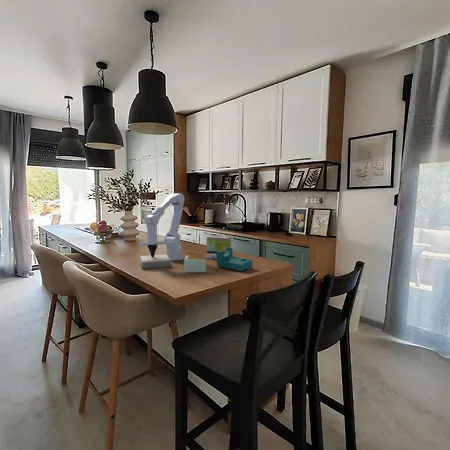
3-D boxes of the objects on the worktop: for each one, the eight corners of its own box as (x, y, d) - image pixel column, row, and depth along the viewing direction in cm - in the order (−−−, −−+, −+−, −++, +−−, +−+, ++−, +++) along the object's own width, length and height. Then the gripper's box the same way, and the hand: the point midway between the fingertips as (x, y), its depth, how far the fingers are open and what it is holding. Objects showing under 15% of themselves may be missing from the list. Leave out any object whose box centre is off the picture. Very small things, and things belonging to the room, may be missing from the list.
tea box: (206, 258, 191) (206, 236, 189) (210, 255, 201) (210, 235, 199) (227, 259, 187) (228, 237, 186) (231, 256, 197) (231, 235, 196)
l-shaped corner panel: (205, 273, 156) (205, 259, 156) (184, 273, 156) (183, 259, 155) (206, 267, 168) (206, 255, 168) (186, 267, 168) (186, 255, 167)
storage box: (166, 262, 180) (166, 255, 180) (170, 267, 167) (170, 260, 167) (140, 264, 174) (140, 257, 174) (142, 269, 161) (142, 262, 161)
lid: (166, 255, 180) (166, 254, 180) (170, 260, 167) (170, 259, 167) (140, 257, 174) (140, 256, 174) (142, 262, 161) (142, 261, 161)
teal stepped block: (217, 268, 167) (216, 251, 166) (228, 263, 176) (227, 247, 174) (241, 273, 156) (240, 255, 154) (252, 268, 164) (251, 250, 162)
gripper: (162, 233, 178) (162, 254, 179) (138, 234, 171) (139, 256, 172) (165, 234, 172) (165, 256, 173) (141, 236, 165) (141, 259, 166)
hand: (152, 256), depth 172 cm, fingers closed, pressing on lid
